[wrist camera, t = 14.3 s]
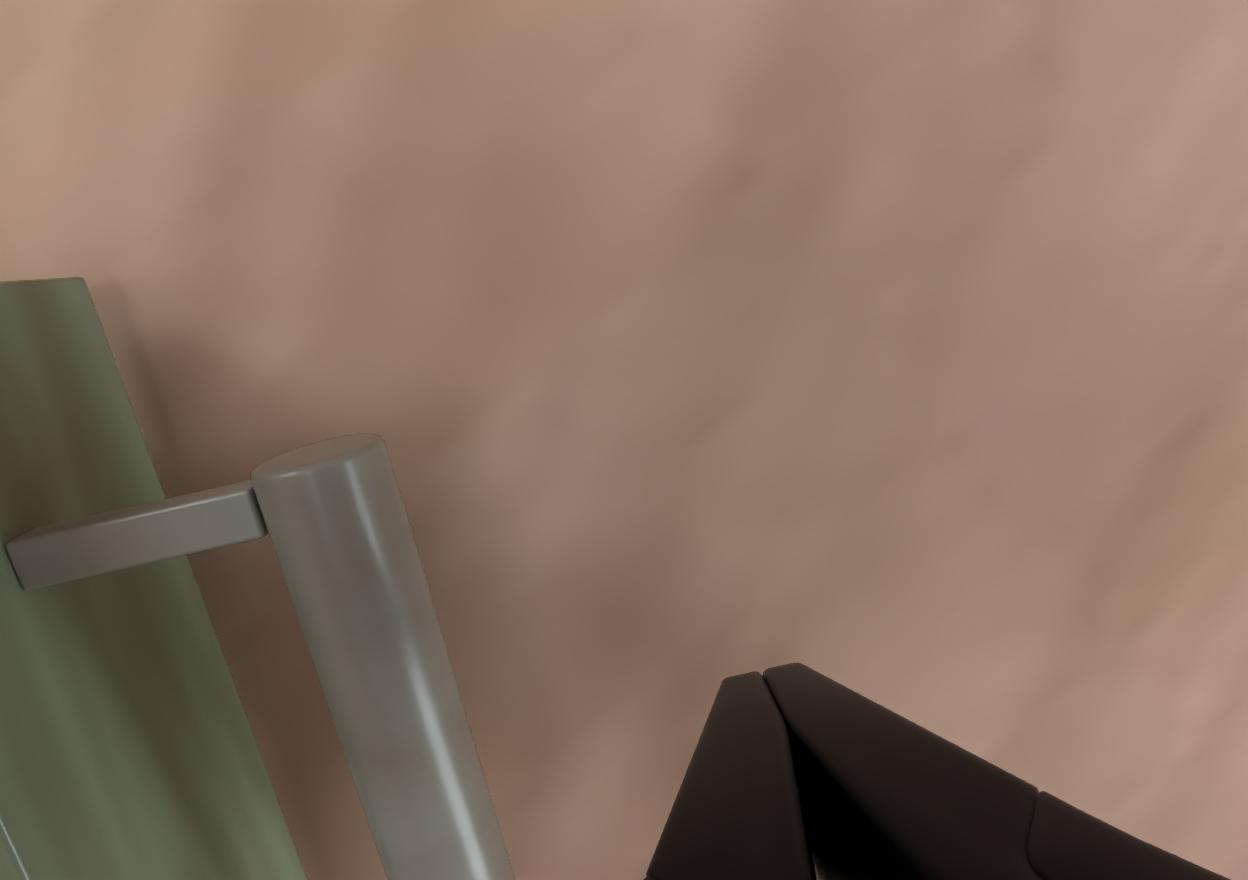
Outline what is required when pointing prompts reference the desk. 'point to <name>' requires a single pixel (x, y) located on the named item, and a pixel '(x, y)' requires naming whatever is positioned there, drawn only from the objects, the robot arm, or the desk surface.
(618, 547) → the desk surface
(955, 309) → the desk surface
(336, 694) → the drawer
